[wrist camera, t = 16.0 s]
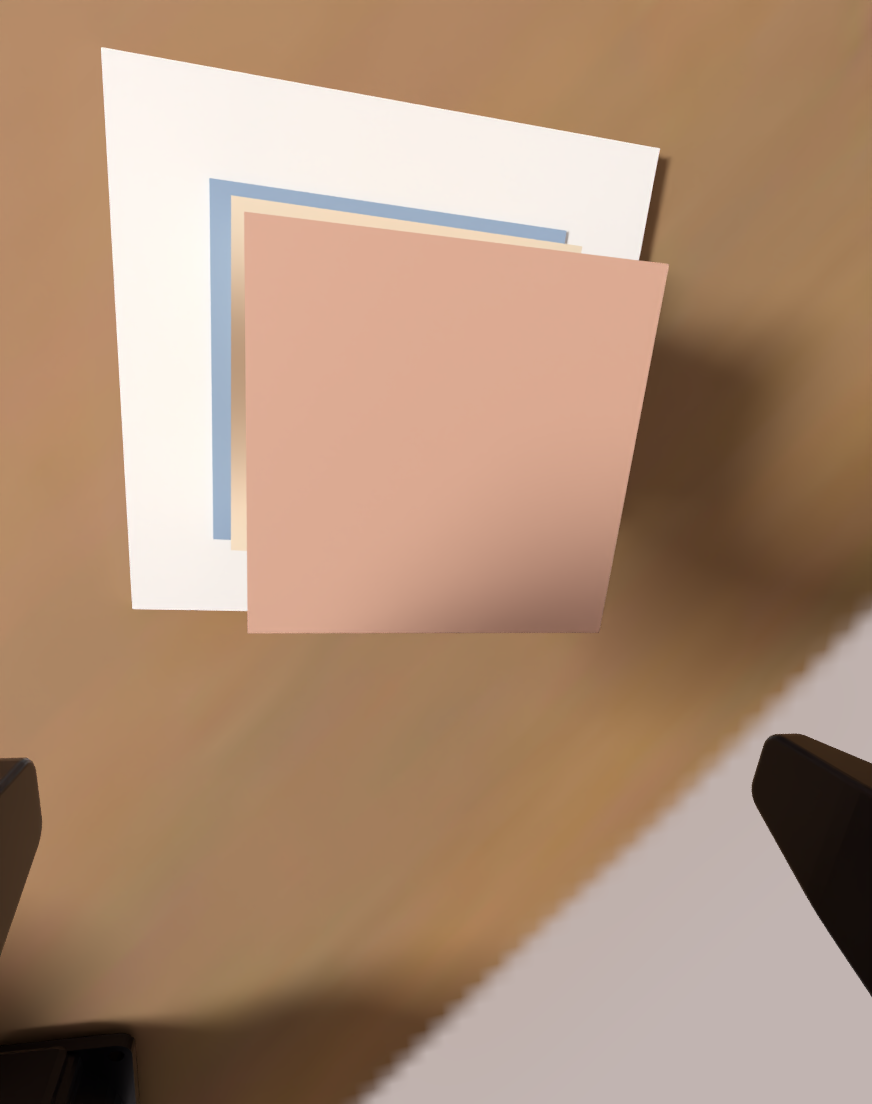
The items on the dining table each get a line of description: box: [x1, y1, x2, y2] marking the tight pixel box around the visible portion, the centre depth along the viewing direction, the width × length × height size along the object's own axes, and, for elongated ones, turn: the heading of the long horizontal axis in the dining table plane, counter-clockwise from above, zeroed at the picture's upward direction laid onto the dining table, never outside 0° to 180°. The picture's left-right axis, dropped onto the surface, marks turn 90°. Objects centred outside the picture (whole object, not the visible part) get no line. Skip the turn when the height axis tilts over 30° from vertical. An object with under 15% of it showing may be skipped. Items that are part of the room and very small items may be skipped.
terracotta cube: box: [244, 212, 669, 633], centre depth 10 cm, size 5×5×5 cm
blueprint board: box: [101, 47, 660, 611], centre depth 16 cm, size 12×12×1 cm
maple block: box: [231, 195, 582, 551], centre depth 14 cm, size 6×6×3 cm
